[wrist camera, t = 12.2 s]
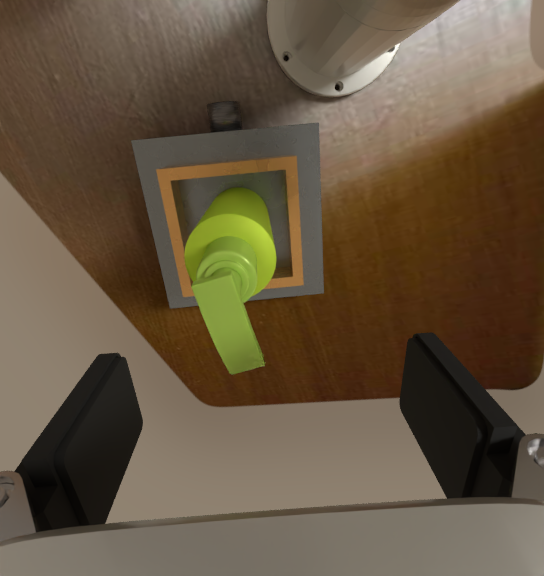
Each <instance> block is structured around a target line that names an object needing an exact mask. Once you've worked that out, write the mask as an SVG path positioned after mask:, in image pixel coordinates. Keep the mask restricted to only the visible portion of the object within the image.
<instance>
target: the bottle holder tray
mask: <svg viewBox="0 0 544 576" xmlns="http://www.w3.org/2000/svg"><path fill="white" fill-rule="evenodd" d="M207 109H208V116H209V123H210V130H211V133H204V134H194V135H183V136H173V137H162V138H152V139H141V140H131V143H132V147H133V151H134V156H135V160H136V164H137V168H138V173H139V177H140V181H141V186H142V190H143V194H144V199H145V203H146V207H147V211H148V216H149V220H150V224H151V229H152V233H153V237H154V242H155V246H156V250H157V255H158V259H159V263H160V267H161V272H162V276H163V280H164V285H165V289H166V293H167V298H168V302H169V306H170V308H180V307H190V306H198V303H197V301H196V298H195V295H194V293H193V290H192V288H191V285H192V283H193V281H192V279H191V278H190V276H189V274H188V272H187V269H186V266H185V259H184V253H185V246H186V243H187V240H188V238H189V236H190V234H191V233H192V231H193V230H194V228H195V227H196V225H197V224H198V223H199V221H200V220H201V218H202V217H203V215H204V214H205V212H206V211H207V209H208V208H209V207H210V205H211V204H212V202H213V201H214V199H215V198H216V197H217V196H218V195H219V194H220V193H221V192H223V191H225V190H227V189H230V188H235V187H242V188H246V189H249V190H252V191H253V192H255V193H256V194H258V195H259V196H260V197H261V198H262V200H263V201H264V203H265V204H266V207H267V210H268V214H269V219H270V224H271V230H272V235H273V240H274V245H275V250H276V267H275V271H274V274H273V276H272V278H271V280H270V281H269V283H268V284H267V285H266V286H265V288H264V289H262V290H261V291H260V292H259V293H257V294H256V295H254V296H252V297H250V298H249V299H248V300H247V301H250V300H260V299H270V298H280V297H290V296H300V295H310V294H320V293H324V285H323V251H322V216H321V182H320V148H319V123H309V124H299V125H288V126H278V127H267V128H257V129H246V130H242V123H241V114H240V104H239V102H236V101H229V102H217V103H211V104H208V105H207Z"/></svg>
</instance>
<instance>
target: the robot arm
mask: <svg viewBox="0 0 544 576" xmlns="http://www.w3.org/2000/svg"><path fill="white" fill-rule="evenodd" d="M459 1H460V0H268V3H267V29H268V36H269V40H270V44H271V48H272V50H273V53H274V55H275V58H276V60H277V62H278V64H279V65H280V67H281V68H282V70H283V71H284V73H285V74H286V75H287V76H288V77H289V78H290V79H291V80H292V81H293V83H295V84H296V85H297V86H299V87H300V88H302V89H303V90H305V91H307V92H309V93H312V94H314V95H317V96H323V97H341V96H345V95H349V94H353V93H355V92H357V91H359V90H361V89H363V88H364V87H366V86H368V85H369V84H371V83H372V82H373V81H374V80H376V79H377V78H378V77H379V76H380V75H381V74H382V73H383V72H384V71H385V69H386V68H387V67H388V65H389V64H390V63H391V62H392V60H393V58H394V56H395V55H396V53H397V51H398V49H399V47H400V44H401V42H402V41H403V40H405V39H406V38H408V37H409V36H411V35H412V34H413V33H415V32H416V31H418V30H419V29H421V28H422V27H424V26H425V25H427V24H428V23H430V22H431V21H433V20H434V19H435V18H437V17H438V16H440V15H441V14H442V13H443V12H445V11H446V10H448V9H449V8H451V7H452V6H454V5H455V4H456V3H457V2H459ZM388 50H389V52H387V51H388ZM284 56H288V58H289V60H288V61H287V62H286V61H284V59H283V57H284ZM335 85H338V86H339V90H338V91H337V90H335ZM400 409H401V411H402V414H403V416H404V417H405V419H406V421H407V423H408V425H409V427H410V429H411V431H412V433H413V435H414V436H415V438H416V440H417V442H418V444H419V446H420V448H421V450H422V452H423V454H424V455H425V457H426V459H427V461H428V463H429V465H430V467H431V469H432V471H433V472H434V474H435V476H436V478H437V480H438V482H439V484H440V486H441V487H442V489H443V491H444V493H445V495H446V497H447V499H430V500H412V501H398V502H384V503H368V504H353V505H339V506H324V507H311V508H298V509H283V510H270V511H257V512H243V513H230V514H217V515H205V516H191V517H179V518H166V519H154V520H141V521H129V522H119V523H109V524H105V522H106V520H107V517H108V514H109V512H110V510H111V507H112V505H113V502H114V499H115V497H116V494H117V492H118V489H119V486H120V484H121V481H122V479H123V476H124V474H125V471H126V469H127V466H128V464H129V461H130V458H131V456H132V453H133V451H134V448H135V446H136V443H137V441H138V438H139V435H140V433H141V430H142V425H143V420H142V415H141V412H140V408H139V404H138V401H137V397H136V393H135V390H134V386H133V382H132V378H131V375H130V371H129V368H128V364H127V361H126V358H125V357H121V356H120V354H119V353H109V354H99V355H98V356H97V357H96V359H95V360H94V361H93V363H92V364H91V365H90V367H89V368H88V370H87V371H86V372H85V374H84V375H83V377H82V378H81V379H80V381H79V382H78V383H77V385H76V386H75V388H74V389H73V390H72V392H71V393H70V394H69V396H68V397H67V399H66V400H65V401H64V403H63V404H62V406H61V407H60V408H59V410H58V411H57V412H56V414H55V415H54V417H53V418H52V419H51V421H50V422H49V423H48V425H47V426H46V428H45V429H44V430H43V432H42V433H41V435H40V436H39V437H38V439H37V440H36V441H35V443H34V444H33V446H32V447H31V449H30V450H29V451H28V453H27V454H26V455H25V457H24V458H23V459H22V462H21V463H20V465H19V466H18V467H17V469H16V470H15V471H2V472H0V576H544V434H537V433H535V434H528V435H525V433H524V432H523V431H522V430H521V429H520V428H519V427H518V426H517V424H516V423H515V422H514V421H513V420H512V419H511V418H510V417H509V416H508V415H507V413H506V412H505V411H504V410H503V409H502V408H501V407H500V406H499V405H498V403H497V402H496V401H495V400H494V399H493V398H492V397H491V396H490V395H489V393H488V392H487V391H486V390H485V389H484V388H483V387H482V386H481V385H480V383H479V382H478V381H477V380H476V379H475V378H474V377H473V376H472V375H471V374H470V372H469V371H468V370H467V369H466V368H465V367H464V366H463V365H462V364H461V362H460V361H459V360H458V359H457V358H456V357H455V356H454V355H453V354H452V352H451V351H450V350H449V349H448V348H447V347H446V346H445V345H444V344H443V343H442V341H441V340H440V339H439V338H438V337H437V336H436V335H435V334H434V333H418V334H414V335H413V338H410V339H409V340H408V342H407V350H406V357H405V364H404V372H403V379H402V387H401V394H400Z"/></svg>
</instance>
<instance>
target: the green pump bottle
mask: <svg viewBox="0 0 544 576" xmlns="http://www.w3.org/2000/svg"><path fill="white" fill-rule="evenodd" d="M184 259H185V266H186V269H187V272H188V274H189V276H190V278H191V279H192V281H193V283H192V285H191V288H192V290H193V293H194V295H195V298H196V301H197V303H198V306H199V308H200V311H201V313H202V316H203V318H204V321H205V323H206V326H207V328H208V330H209V333H210V335H211V337H212V340H213V342H214V344H215V346H216V348H217V350H218V352H219V354H220V356H221V358H222V360H223V362H224V364H225V366H226V367H227V369H228V371H229V372H230V374H236V373H240V372H244V371H247V370H251V369H254V368H258V367H262V366H264V365H265V362H264V358H263V354H262V351H261V349H260V347H259V344H258V342H257V339H256V337H255V334H254V331H253V329H252V326H251V323H250V321H249V318H248V315H247V312H246V309H245V307H244V304H243V303H245V302H246V301H247V300H248V299H249V298H250V297H252V296H254V295H256V294H257V293H259V292H260V291H261V290H262V289H264V288H265V286H266V285H267V284H268V283H269V281H270V280H271V278H272V276H273V274H274V271H275V267H276V250H275V245H274V240H273V235H272V230H271V224H270V219H269V214H268V210H267V207H266V204H265V203H264V201H263V200H262V198H261V197H260V196H259V195H258V194H256V193H255V192H253V191H252V190H249V189H246V188H242V187H235V188H230V189H227V190H225V191H223V192H221V193H220V194H219V195H218V196H217V197H216V198H215V199H214V201H213V202H212V204H211V205H210V207H209V208H208V209H207V211H206V212H205V214H204V215H203V217H202V218H201V220H200V221H199V223H198V224H197V225H196V227H195V228H194V230H193V231H192V233H191V234H190V236H189V238H188V240H187V243H186V246H185V253H184Z"/></svg>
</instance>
